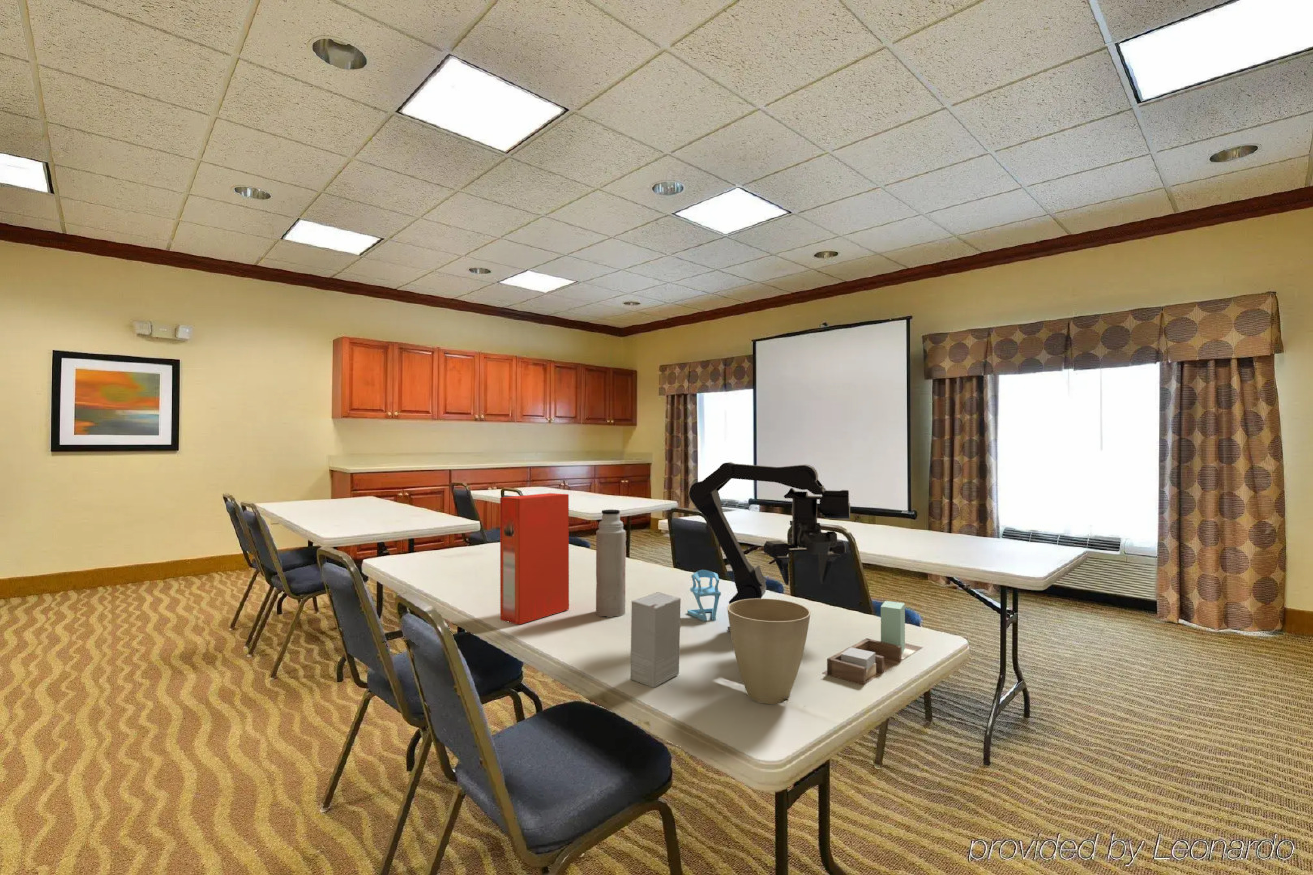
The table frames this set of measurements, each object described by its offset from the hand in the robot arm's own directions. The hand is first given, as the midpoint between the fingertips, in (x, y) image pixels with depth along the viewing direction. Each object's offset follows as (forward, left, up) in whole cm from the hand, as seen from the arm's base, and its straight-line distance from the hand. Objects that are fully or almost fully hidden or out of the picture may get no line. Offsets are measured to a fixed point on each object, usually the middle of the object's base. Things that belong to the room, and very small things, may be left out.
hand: (804, 583), depth 143 cm
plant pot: (-22, -28, -13) cm, 38 cm away
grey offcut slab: (-1, -24, -10) cm, 26 cm away
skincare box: (-40, -15, -13) cm, 45 cm away
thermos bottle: (-41, +32, -13) cm, 54 cm away
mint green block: (+13, -15, -12) cm, 23 cm away
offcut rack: (+7, -18, -13) cm, 24 cm away
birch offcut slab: (-1, -24, -12) cm, 27 cm away
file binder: (-61, +35, -13) cm, 72 cm away
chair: (-17, +23, -13) cm, 32 cm away
